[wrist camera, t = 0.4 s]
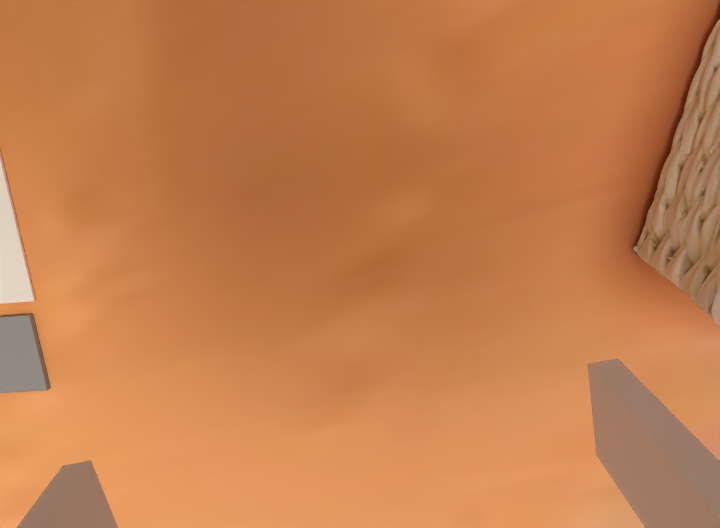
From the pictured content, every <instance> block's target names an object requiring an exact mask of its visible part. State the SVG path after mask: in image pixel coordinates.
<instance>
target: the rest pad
mask: <svg viewBox="0 0 720 528" xmlns="http://www.w3.org/2000/svg"><path fill="white" fill-rule="evenodd" d="M48 389H50V384H49V380H48V376H47V372H46V368H45V363H44V359H43V355H42V351H41V347H40V343H39V338H38V334H37V330H36V326H35V322H34V318H33V314H20V315H6V316H0V393H10V392H27V391H45V390H48Z"/></svg>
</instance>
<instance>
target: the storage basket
mask: <svg viewBox="0 0 720 528" xmlns="http://www.w3.org/2000/svg"><path fill="white" fill-rule="evenodd" d="M633 250H634V251H635V252H637V255H638V256H639V257H640V258H641V259H642V260H644V261H645V262H646V263H647V264H648V265H650V266H651V267H652V268H653V269H655V270H657V272H659V273H660V274H661V275H662V276H665V277H666V278H668V279H669V281H671V282H672V283H673V284H674V285H675V286H677V287H678V288H679V289H681V290H683V291H684V292H685V293H687V294H688V296H689V297H690V298H691V299H692V300H693V301H694V302H695V303H697V306H698V307H699V308H701V309H702V310H703V311H704V312H705V313H706V314H708V315H709V316H712V317H713V319H714V321H715V322H716V323H717V324H718V325H719V326H720V19H719V20H718V21H717V23H716V25H715V26H714V28H713V30H712V32H711V34H710V35H709V37H708V40H707V42H706V44H705V47H704V50H703V54H702V59H701V64H700V66H699V68H698V70H697V72H696V74H695V76H694V78H693V81H692V83H691V86H690V89H689V93H688V96H687V100H686V103H685V107H684V112H683V116H682V118H681V120H680V122H679V124H678V127H677V129H676V132H675V135H674V139H673V142H672V148H671V152H670V154H669V156H668V158H667V160H666V162H665V164H664V166H663V169H662V171H661V175H660V178H659V182H658V186H657V191H656V193H655V196H654V201H653V203H652V205H651V207H650V209H649V210H648V213H647V218H646V223H645V225H644V228H643V230H642V233H641V236H640V239H639V241H638V243H637V246H635V247H634V249H633Z"/></svg>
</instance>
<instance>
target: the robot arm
mask: <svg viewBox="0 0 720 528" xmlns="http://www.w3.org/2000/svg"><path fill="white" fill-rule="evenodd" d="M588 373H589V383H590V394H591V404H592V414H593V424H594V434H595V445H596V455H597V457H598V458H599V460H600V461H601V463H602V464H603V466H604V467H605V469H606V470H607V472H608V473H609V475H610V476H611V477H612V479H613V480H614V482H615V483H616V485H617V486H618V488H619V489H620V491H621V492H622V494H623V495H624V497H625V498H626V500H627V501H628V503H629V504H630V506H631V507H632V509H633V510H634V512H635V513H636V514H637V516H638V517H639V519H640V520H641V522H642V523H643V525H644V526H645V528H720V461H719V460H718V459H717V458H716V457H715V456H714V455H713V454H712V453H711V452H710V451H709V450H708V449H707V448H706V447H705V446H704V445H703V444H702V443H701V442H700V441H699V440H698V439H697V438H696V437H695V436H694V435H693V434H692V433H691V432H690V431H689V430H688V429H687V428H686V427H685V426H684V425H683V424H682V423H681V422H680V421H679V420H678V419H677V418H676V417H675V416H674V415H673V414H672V413H671V412H670V411H669V410H668V409H667V408H666V407H665V406H664V405H663V404H662V403H661V402H660V401H659V400H658V399H657V398H656V397H655V396H654V395H653V394H652V393H651V392H650V391H649V390H648V389H647V388H646V387H645V386H644V385H643V384H642V383H641V382H640V381H639V379H638V378H637V377H636V376H635V375H634V374H633V373H632V372H631V371H630V370H629V369H628V368H627V367H626V366H625V365H624V364H623V363H622V362H621V361H620V360H619V359H613V360H608V361H602V362H597V363H592V364H588ZM17 528H118V526H117V524H116V521H115V519H114V517H113V514H112V512H111V509H110V507H109V504H108V502H107V499H106V497H105V494H104V492H103V489H102V487H101V484H100V482H99V479H98V477H97V474H96V472H95V470H94V467H93V465H92V462H91V460H90V461H85V462H80V463H75V464H70V465H64V466H62V468H61V469H60V470H59V472H58V473H57V474H56V476H55V477H54V478H53V480H52V481H51V482H50V484H49V485H48V486H47V488H46V489H45V490H44V492H43V493H42V494H41V496H40V497H39V498H38V500H37V501H36V502H35V504H34V505H33V506H32V508H31V509H30V510H29V512H28V513H27V515H26V516H25V517H24V519H23V520H22V521H21V523H20V524H19V525H18V527H17Z"/></svg>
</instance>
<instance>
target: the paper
mask: <svg viewBox="0 0 720 528" xmlns="http://www.w3.org/2000/svg"><path fill="white" fill-rule="evenodd" d="M35 300H36V299H35V295H34V290H33V286H32V282H31V278H30V273H29V269H28V265H27V261H26V257H25V252H24V248H23V244H22V240H21V235H20V231H19V227H18V223H17V219H16V214H15V210H14V206H13V202H12V197H11V193H10V189H9V185H8V180H7V176H6V172H5V168H4V164H3V159H2V155H1V151H0V304H1V303H15V302H29V301H35Z"/></svg>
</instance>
